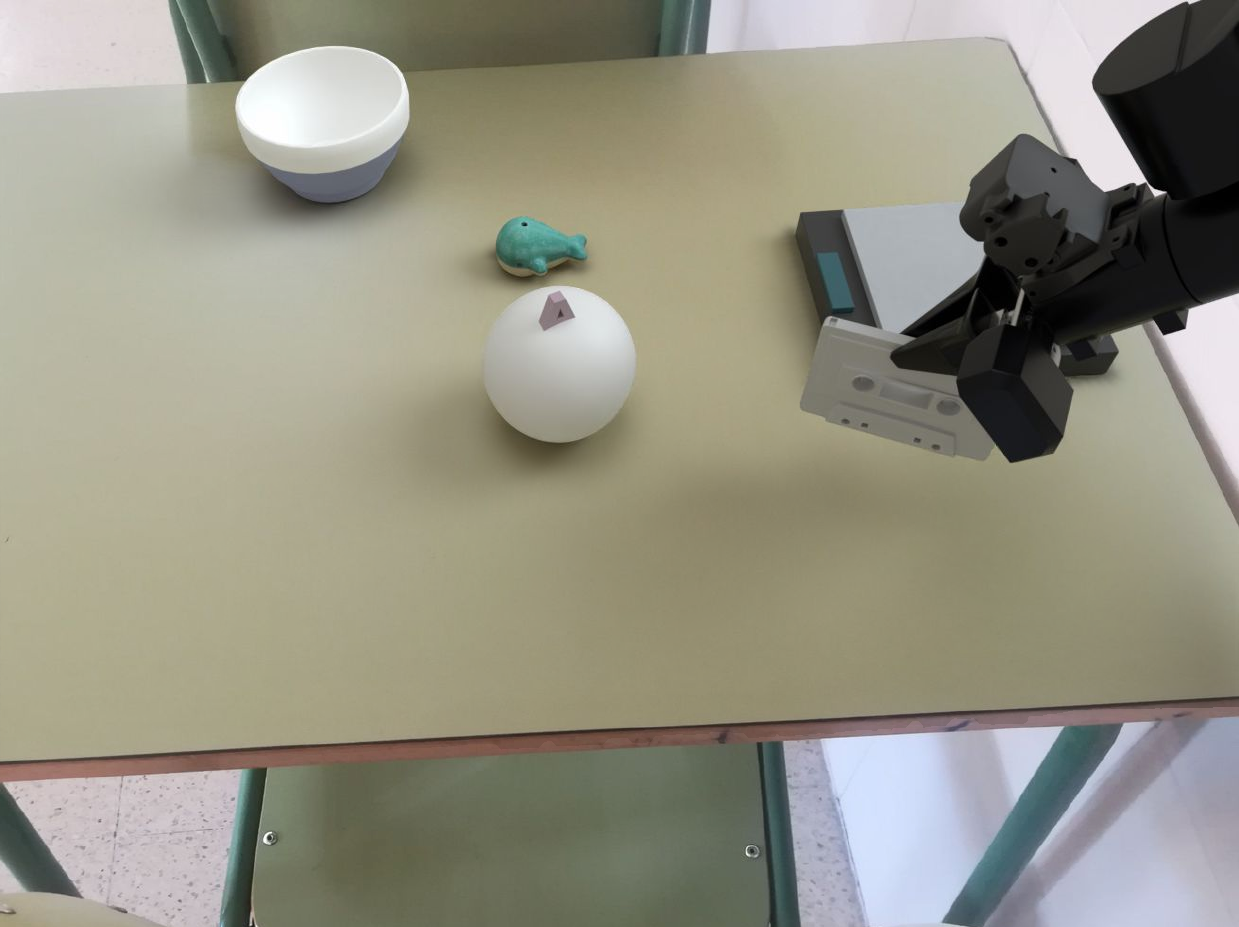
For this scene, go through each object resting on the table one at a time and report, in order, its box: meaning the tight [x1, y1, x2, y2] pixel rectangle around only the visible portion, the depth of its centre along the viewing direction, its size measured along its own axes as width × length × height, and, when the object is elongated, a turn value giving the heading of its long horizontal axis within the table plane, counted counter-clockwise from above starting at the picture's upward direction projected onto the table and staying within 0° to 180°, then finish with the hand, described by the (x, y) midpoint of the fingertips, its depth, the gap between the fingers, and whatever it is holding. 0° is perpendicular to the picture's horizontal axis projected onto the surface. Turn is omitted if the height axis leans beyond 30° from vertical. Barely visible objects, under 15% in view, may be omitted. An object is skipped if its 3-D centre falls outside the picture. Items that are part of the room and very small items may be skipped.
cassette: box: [799, 316, 996, 462], centre depth 65 cm, size 12×2×8 cm, turn 65°
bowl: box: [234, 45, 410, 204], centre depth 90 cm, size 14×14×8 cm
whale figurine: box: [495, 215, 588, 278], centre depth 84 cm, size 6×7×4 cm
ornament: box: [481, 285, 637, 444], centre depth 71 cm, size 10×10×12 cm
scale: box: [794, 200, 1120, 377], centre depth 79 cm, size 19×17×3 cm
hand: (896, 352), depth 63 cm, fingers closed on cassette, 1 cm apart
